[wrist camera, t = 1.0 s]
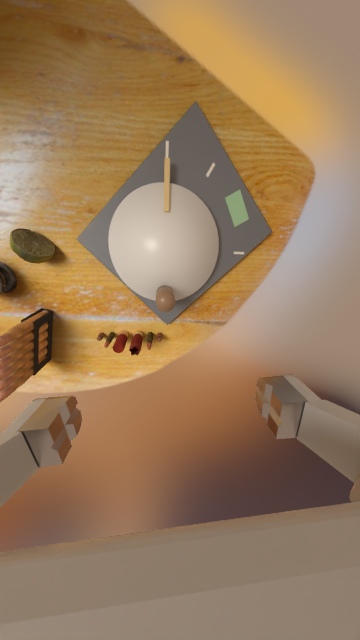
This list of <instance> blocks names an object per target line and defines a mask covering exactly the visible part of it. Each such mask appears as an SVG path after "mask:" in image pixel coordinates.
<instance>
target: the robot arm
mask: <svg viewBox="0 0 360 640" xmlns="http://www.w3.org/2000/svg"><path fill="white" fill-rule="evenodd" d="M257 386H258V388H259V390H258V391H257V393H256V399H255V400H256V405H257V408H258V410H259V412H260V414H261V415H262V416H263V417H265V418H266V419H268V421H267V425H268V427H269V428H270V430H271V432H272V433H273V435H274V436H275V438H276V439H284V438H296V437H297V439H298V440H299V441H301V442H302V443H303V444H304V445H306V446H307V447H308V448H310V449H311V450H312V451H314V452H315V453H316V454H317V455H319V456H320V457H321V458H323V459H324V460H325V461H327V462H328V463H329V464H331V465H332V466H333V467H334V468H336V469H337V470H338V471H340V472H341V473H342V474H343V475H345V476H346V477H347V478H349V479H350V480H351V481H352V482H354V483H355V484H354V486H353V488H352V491H351V493H350V500H351V501H352V502H353V503H346V504H339V505H332V506H324V507H317V508H310V509H303V510H296V511H289V512H281V513H275V514H267V515H260V516H253V517H246V518H238V519H231V520H224V521H217V522H210V523H203V524H195V525H188V526H181V527H174V528H167V529H160V530H152V531H145V532H138V533H131V534H124V535H117V536H109V537H102V538H95V539H88V540H81V541H74V542H67V543H60V544H53V545H45V546H39V547H31V548H24V549H17V550H10V551H3V552H0V640H360V415H358V414H356V413H354V412H352V411H349V410H347V409H345V408H342V407H340V406H338V405H336V404H334V403H331V402H329V401H327V400H321V399H320V398H319V397H317V395H315V394H314V393H313V392H312V391H311V390H310V389H309V388H308V387H307V386H305V385H304V384H303V383H302V382H301V381H300V380H299V379H298V378H297V377H296V376H294V375H292V374H289V375H281V376H273V377H264V378H259V379H258V380H257ZM77 403H78V402H77V400H76V397H74V396H63V397H50V398H40V399H35V400H33V401H32V402H31V403H30V404H29V405H28V406H27V407H26V408H25V409H24V410H23V412H21V414H20V415H19V416H18V417H17V418H16V419H15V420H14V421H13V422H12V423H11V424H10V425H9V426H8V427H7V429H5V431H4V432H3V433H2V434H0V507H1V506H2V505H3V504H4V503H5V502H6V501H7V500H8V499H9V498H10V497H11V496H12V495H13V494H14V493H15V492H16V491H17V490H18V489H19V488H20V487H21V486H22V485H23V484H24V483H25V482H26V481H27V480H28V479H29V478H30V477H31V476H32V475H33V474H34V473H35V472H36V471H37V470H38V469H39V467H46V466H52V465H59V464H63V462H64V460H65V458H66V456H67V454H68V452H69V450H70V448H71V442H70V441H71V440H72V439H73V438H75V437H76V436H77V434H78V432H79V430H80V427H81V422H82V416H81V412H80V411H79V410H78V409H77V408H76V405H77Z"/></svg>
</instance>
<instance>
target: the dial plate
mask: <svg viewBox="0 0 360 640" xmlns="http://www.w3.org/2000/svg"><path fill="white" fill-rule="evenodd" d="M165 158H170V181H169V183H172V184H176V185H179V186H182V187H184V188H186V189H188V190H190V191H191V192H193V193H194V194H195V195H197V196H198V197H199V198H200V199H201V200H202V201H203V202H204V204H205V205H206V206H207V207H208V209H209V211H210V212H211V214H212V216H213V219H214V221H215V224H216V227H217V231H218V238H219V250H218V257H217V261H216V264H215V267H214V269H213V272H212V273H211V275H210V277H209V279H208V280H207V281H206V282H205V284H204V285H203V286H202V287H201V288H200V289H199V290H197V291H196V292H195V293H193V294H192V295H190V296H188V297H186V298H183V299H180V300H177V301H175V307H174V308H173V309H172V310H171V311H169V312H163V311H160V310H159V309H158V308H157V306H156V301H154V300H150V299H147V298H145V297H143V296H141V295H139V294H137V293H136V292H134V291H133V290H132V289H130V288H129V287H128V286H127V285H126V284H125V283H124V282H123V281H122V279H121V278H120V276H119V275H118V273H117V272H116V270H115V268H114V265H113V263H112V260H111V257H110V252H109V245H108V236H109V228H110V224H111V220H112V218H113V215H114V213H115V211H116V209H117V207H118V206H119V205H120V203H121V202H122V201H123V200H124V199H125V198H126V197H127V196H128V195H129V194H130V193H131V192H133V191H134V190H136V189H138V188H140V187H142V186H144V185H147V184H151V183H158V182H164V163H165ZM270 233H272V231H271V229H270V227H269V226H268V224H267V222H266V221H265V219H264V217H263V215H262V214H261V212H260V210H259V208H258V207H257V205H256V203H255V202H254V200H253V198H252V196H251V195H250V193H249V191H248V190H247V188H246V186H245V184H244V183H243V181H242V179H241V178H240V176H239V174H238V172H237V171H236V169H235V167H234V165H233V164H232V162H231V160H230V159H229V157H228V155H227V153H226V152H225V150H224V148H223V147H222V145H221V143H220V141H219V140H218V138H217V136H216V135H215V133H214V131H213V129H212V128H211V126H210V124H209V123H208V121H207V119H206V117H205V116H204V114H203V112H202V110H201V109H200V107H199V105H198V104H197V102H196V101H195V103H194V104H193V105H192V106H191V107H190V108H189V110H188V111H187V112H186V113H185V114H184V115H183V117H182V118H181V119H180V120H179V121H178V122H177V123H176V125H175V126H174V127H173V128H172V129H171V130H170V132H169V133H168V134H167V135H166V136H165V137H164V138H163V140H162V141H161V142H160V143H159V144H158V145H157V147H156V148H155V149H154V150H153V151H152V152H151V153H150V155H149V156H148V157H147V158H146V159H145V160H144V162H143V163H142V164H141V165H140V166H139V167H138V169H137V170H136V171H135V172H134V173H133V174H132V175H131V177H130V178H129V179H128V180H127V181H126V182H125V184H124V185H123V186H122V187H121V188H120V189H119V190H118V192H117V193H116V194H115V195H114V196H113V197H112V199H111V200H110V201H109V202H108V203H107V204H106V206H105V207H104V208H103V209H102V210H101V211H100V212H99V214H98V215H97V216H96V217H95V218H94V219H93V221H92V222H91V223H90V224H89V225H88V226H87V227H86V229H85V230H84V231H83V232H82V233H81V234H80V236H79V237H78V238H77V240H78V241H79V242H80V243H81V244H82V245H83V246H84V247H85V248H86V249H87V250H89V251H90V252H91V253H92V254H93V255H94V256H95V257H96V258H97V259H98V260H99V261H100V262H101V263H102V264H103V265H104V266H106V267H107V268H108V269H109V270H110V271H111V272H112V273H113V274H114V275H115V276H116V277H117V278H118V279H119V280H120V281H121V282H123V283H124V284H125V285H126V286H127V287H128V288H129V289H130V290H131V291H132V292H133V293H134V294H135V295H136V296H137V297H138V298H139V299H141V300H142V301H143V302H144V303H145V304H146V305H147V306H148V307H149V308H150V309H151V310H152V311H153V312H154V313H155V314H156V315H158V316H159V317H160V318H161V319H162V320H163V321H164V322H165V323H166V324H167V325H168V324H169V323H170V322H171V321H172V320H174V319H175V318H176V317H177V316H178V315H179V314H180V313H181V312H183V311H184V310H185V309H186V308H187V307H188V306H189V305H190V304H192V303H193V302H194V301H195V300H196V299H197V298H198V297H199V296H201V295H202V294H203V293H204V292H205V291H206V290H207V289H208V288H210V287H211V286H212V285H213V284H214V283H215V282H216V281H217V280H219V279H220V278H221V277H222V276H223V275H224V274H225V273H226V272H228V271H229V270H230V269H231V268H232V267H233V266H234V265H236V264H237V263H238V262H239V261H240V260H241V259H242V258H243V257H245V256H246V255H247V254H248V253H249V252H250V251H251V250H252V249H254V248H255V247H256V246H257V245H258V244H259V243H260V242H261V241H263V240H264V239H265V238H266V237H267V236H268V235H269V234H270Z"/></svg>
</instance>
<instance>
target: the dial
mask: <svg viewBox="0 0 360 640" xmlns="http://www.w3.org/2000/svg"><path fill="white" fill-rule="evenodd" d="M169 181H170V158H165V163H164V182H158V183H151V184H147V185H144V186H142V187H140V188H138V189H136V190H134V191H133V192H131V193H130V194H129V195H128V196H127V197H126V198H125V199H124V200H123V201H122V202H121V203H120V205H119V206H118V207H117V209H116V211H115V213H114V215H113V218H112V220H111V224H110V228H109V236H108V245H109V252H110V257H111V260H112V263H113V265H114V268H115V270H116V272H117V273H118V275H119V276H120V278H121V279H122V281H123V282H124V283H125V284H126V285H127V286H128V287H129V288H130V289H132V290H133V291H134V292H136V293H137V294H139V295H141V296H143V297H145V298H147V299H150V300H154V301H156V306H157V308H158V309H159V310H160V311H163V312H169V311H171V310H172V309H173V308H174V307H175V301H177V300H180V299H183V298H186V297H188V296H190V295H192V294H193V293H195V292H196V291H197V290H199V289H200V288H201V287H202V286H203V285H204V284H205V282H206V281H207V280H208V279H209V277H210V275H211V273H212V272H213V269H214V267H215V264H216V261H217V257H218V250H219V238H218V231H217V227H216V224H215V221H214V219H213V216H212V214H211V212H210V211H209V209H208V207H207V206H206V205H205V204H204V202H203V201H202V200H201V199H200V198H199V197H198V196H197V195H195V194H194V193H193V192H191V191H190V190H188V189H186V188H184V187H182V186H179V185H176V184H172V183H169Z"/></svg>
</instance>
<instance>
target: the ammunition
mask: <svg viewBox="0 0 360 640" xmlns="http://www.w3.org/2000/svg"><path fill="white" fill-rule="evenodd" d="M114 336H115V333H114V332H111V333H110V334H109V336H108V338H107V340H106V343H105V346H104V347H105V348H106V347H108V346H109V344H110V343H111V341H112V340H113V338H114ZM128 336H129V334H128V332H127V331H125V330H123V331H121V332H120V333H119V335H118V337H117V339H116V341H115V344H114V346H113V350H114V351H115V352H117V353H121V352H122V351H123V350H124V348H125V345H126V342H127V339H128ZM103 337H104V333H100V334H99V335H98V337H97V340H98V341H100V340H102V338H103ZM142 339H143V332H142V331H140V330H137V331H135V333H134V335H133V339H132V342H131V346H130V349H129V350H130V351H131V355H134V354H136V355H138V354H139V352H140V350H141V345H142ZM152 340H153V333H152V332H149V333H148V340H147V341H148V345H147V348H148V350H150V349H151V345H152V344H151V343H152ZM157 340H158V341H159V342H160V341H161V340H162V334H161V333H158V334H157Z"/></svg>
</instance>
